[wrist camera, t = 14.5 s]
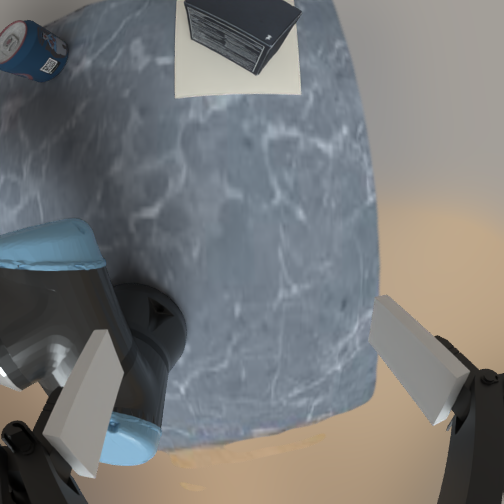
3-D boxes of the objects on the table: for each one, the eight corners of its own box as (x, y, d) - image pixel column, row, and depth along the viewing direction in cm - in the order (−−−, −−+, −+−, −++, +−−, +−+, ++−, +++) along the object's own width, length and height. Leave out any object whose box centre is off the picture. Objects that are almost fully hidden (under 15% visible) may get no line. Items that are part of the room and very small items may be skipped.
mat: (175, 98, 32) (175, 97, 32) (177, 0, 27) (176, -2, 26) (299, 95, 34) (301, 94, 33) (292, -1, 29) (293, -3, 28)
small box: (284, 43, 31) (307, 10, 21) (257, 77, 32) (272, 50, 22) (217, 7, 28) (219, -35, 18) (188, 39, 29) (180, 3, 19)
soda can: (28, 70, 26) (-18, 55, 15) (57, 35, 26) (17, 8, 14) (48, 92, 29) (0, 78, 17) (80, 54, 28) (38, 27, 16)
